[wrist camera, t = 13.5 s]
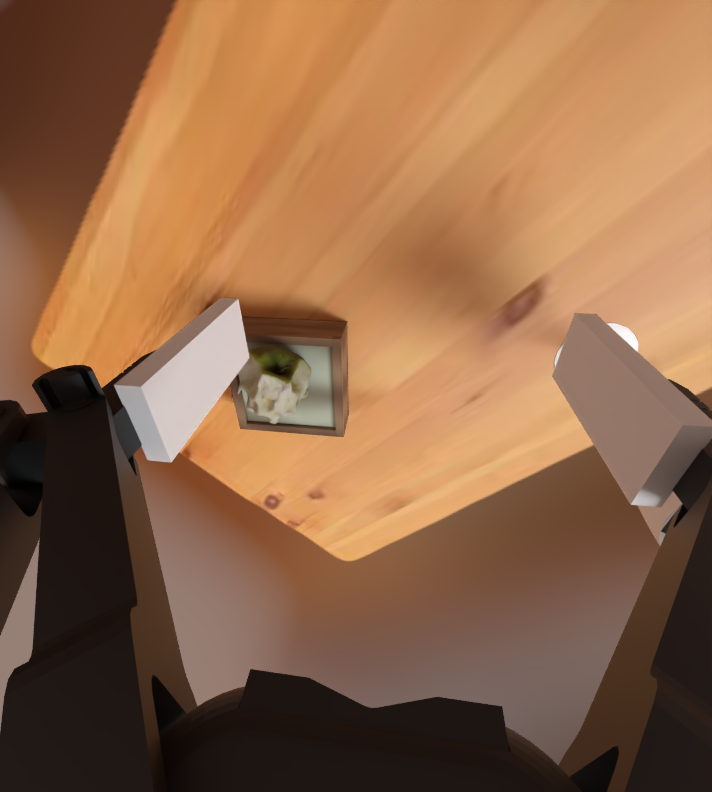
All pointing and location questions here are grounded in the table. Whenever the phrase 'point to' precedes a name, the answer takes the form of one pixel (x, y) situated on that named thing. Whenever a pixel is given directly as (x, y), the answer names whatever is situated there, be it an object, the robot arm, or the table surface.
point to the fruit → (274, 381)
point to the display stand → (328, 377)
